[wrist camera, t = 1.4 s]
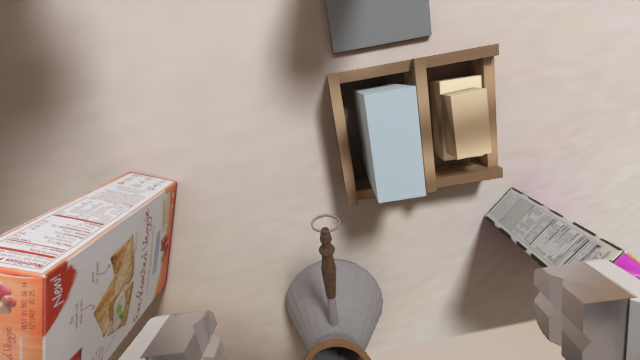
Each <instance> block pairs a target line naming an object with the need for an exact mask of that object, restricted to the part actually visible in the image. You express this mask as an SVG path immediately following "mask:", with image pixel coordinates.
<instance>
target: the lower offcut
mask: <svg viewBox="0 0 640 360" xmlns="http://www.w3.org/2000/svg"><path fill="white" fill-rule="evenodd" d="M430 87H431V103H432V119H433V135H434V151H435V155H436V156H438V157H439V158H440V159H442V160H443V161H447V160H454V159H456V158H454V157H452V156H451V155H449V154H448V153H447V149H446V141H445V132H444V124H443V115H442V107H441V98H440V94H444V93H449V92H454V91H458V90H463V89H467V88H472V87H476V88H482V84H481V75H467V76H461V77H454V78H448V79H441V80H435V81H430ZM478 156H483V155H478ZM473 157H476V156H473ZM468 158H469V157H468Z"/></svg>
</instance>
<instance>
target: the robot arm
mask: <svg viewBox="0 0 640 360" xmlns="http://www.w3.org/2000/svg"><path fill="white" fill-rule="evenodd" d="M533 285H534V286H535V287H536V288H537V289H538V290H539V291H540V292H539V294H538V295H537V296H536V298H535V299H534V314H535V317H536V320H537V323H538V325H539V327H540V329H541V331H542V332H543V334H544V335H545V336H546V337H547V339H548V340H549V341H551V342H553V343H555V344H557V345H559V346H561V347H562V356H563V357H564V358H565V359H566V360H640V280H639V279H638V278H636V277H634V276H633V275H631V274H629V273H628V272H626V271H625V270H623V269H621V268H620V267H618V266H617V265H615V264H613V263H612V262H610V261H608V260H606V259H601V258H599V259H593V260H587V261H581V262H576V263H570V264H563V265H557V266H550V267H544V268H537V269H535V272H534V275H533ZM216 326H217V322H216V319H215V316H214V313H213V312H211V311H210V310H206V311H197V312H188V313H178V314H168V315H162V316H155V317H153V318H151V319H150V320H149V321H148V322H147V324H146V325H145V326H144V327H143V329H142V330H141V331H140V333H139V334H138V335H137V336H136V338H135V339H134V340H133V342H132V343H131V344H130V345H129V347H128V348H127V349H126V350H125V352H124V353H123V354H122V356H121V357H120V358H119V359H118V360H224V349H223V344H222V340H221V338H219V337H218V336H217V335H216V334H215V333H214V330H215V328H216Z"/></svg>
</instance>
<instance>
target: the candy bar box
mask: <svg viewBox="0 0 640 360" xmlns="http://www.w3.org/2000/svg"><path fill="white" fill-rule="evenodd" d="M485 218H486V219H487V220H488V221H490V222H491V223H492V224H493V225H494V226H495V227H496V228H497V229H499V230H500V231H501V232H502V233H503V234H504V235H506V236H507V237H508V238H509V239H510V240H511V241H513V242H514V243H515V244H516V245H517V246H519V247H520V248H521V249H522V250H523V251H524V252H526V253H527V254H528V255H529V256H530V257H531V258H533V259H534V260H535V261H536V262H537V263H538V264H540V265H541V266H542V267H543V268H544V267H550V266H557V265H563V264H570V263H576V262H581V261H587V260H593V259H599V258H601V259H606V260H608V261H610V262H612V263H613V264H615V265H617V266H618V267H620V268H621V269H623V270H625V271H626V272H628V273H629V274H631V275H633V276H634V277H636V278H638V279H639V280H640V261H638V260H637V259H636V258H634V257H633V256H632V255H630V254H629V253H628V252H626V251H625V250H623V249H621V248H619V247H617V246H615V245H614V244H612V243H610V242H608V241H606V240H604V239H603V238H601V237H599V236H598V235H596V234H594V233H593V232H591V231H589V230H587V229H585V228H584V227H582V226H580V225H579V224H577V223H575V222H573V221H571V220H569V219H567V218H566V217H564V216H562V215H560V214H558V213H557V212H555V211H553V210H551V209H549V208H548V207H546V206H544V205H542V204H541V203H539V202H537V201H536V200H534V199H532V198H530V197H529V196H527V195H525V194H523V193H522V192H520V191H518V190H516V189H515V188H513V187H512V188H510V189H509V190H508V191H507V192H506V193H505V194H504V195H503V197H502V198H501V199H500V201H499V202H498V203H497V204H496V205H495V206H494V207H493V208H492V209H491V210H490V211H489V212H488V213H487V214H486V215H485Z"/></svg>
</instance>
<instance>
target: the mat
mask: <svg viewBox="0 0 640 360" xmlns="http://www.w3.org/2000/svg"><path fill="white" fill-rule="evenodd" d="M325 3H326V9H327V15H328V22H329V28H330V35H331V41H332V48H333V54H334V53H339V52H345V51H350V50H355V49H361V48H366V47H372V46H377V45H382V44H388V43H393V42H398V41H404V40H409V39H415V38H420V37H425V36H430V35H431V22H430V10H429V0H325Z"/></svg>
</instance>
